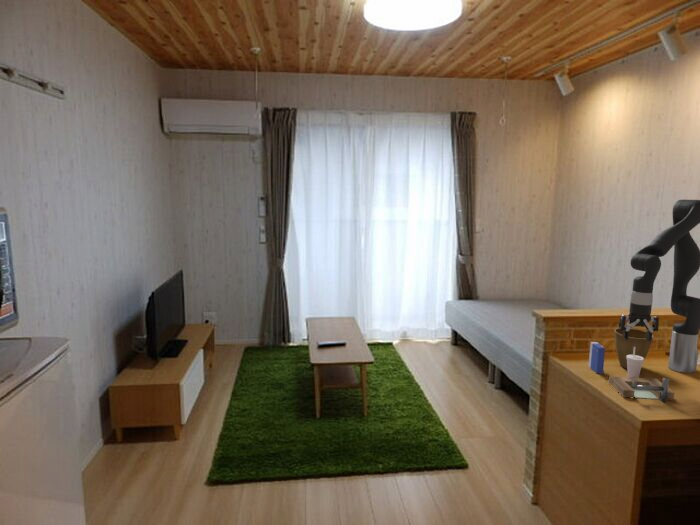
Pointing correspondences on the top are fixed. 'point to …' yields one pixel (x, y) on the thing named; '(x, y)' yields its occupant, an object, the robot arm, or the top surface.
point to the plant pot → (631, 344)
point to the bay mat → (644, 394)
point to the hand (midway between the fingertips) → (636, 339)
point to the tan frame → (625, 384)
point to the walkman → (596, 357)
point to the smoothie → (634, 365)
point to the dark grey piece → (655, 388)
